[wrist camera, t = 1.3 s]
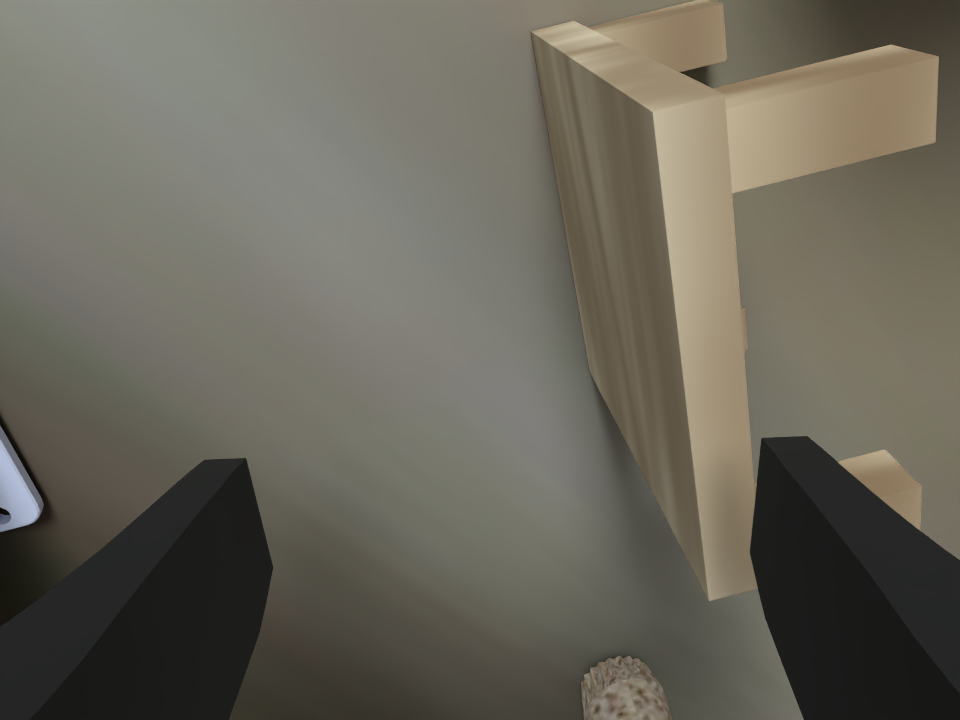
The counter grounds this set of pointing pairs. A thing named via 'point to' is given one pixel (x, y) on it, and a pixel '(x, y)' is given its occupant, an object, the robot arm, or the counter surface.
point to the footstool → (700, 239)
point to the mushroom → (623, 692)
